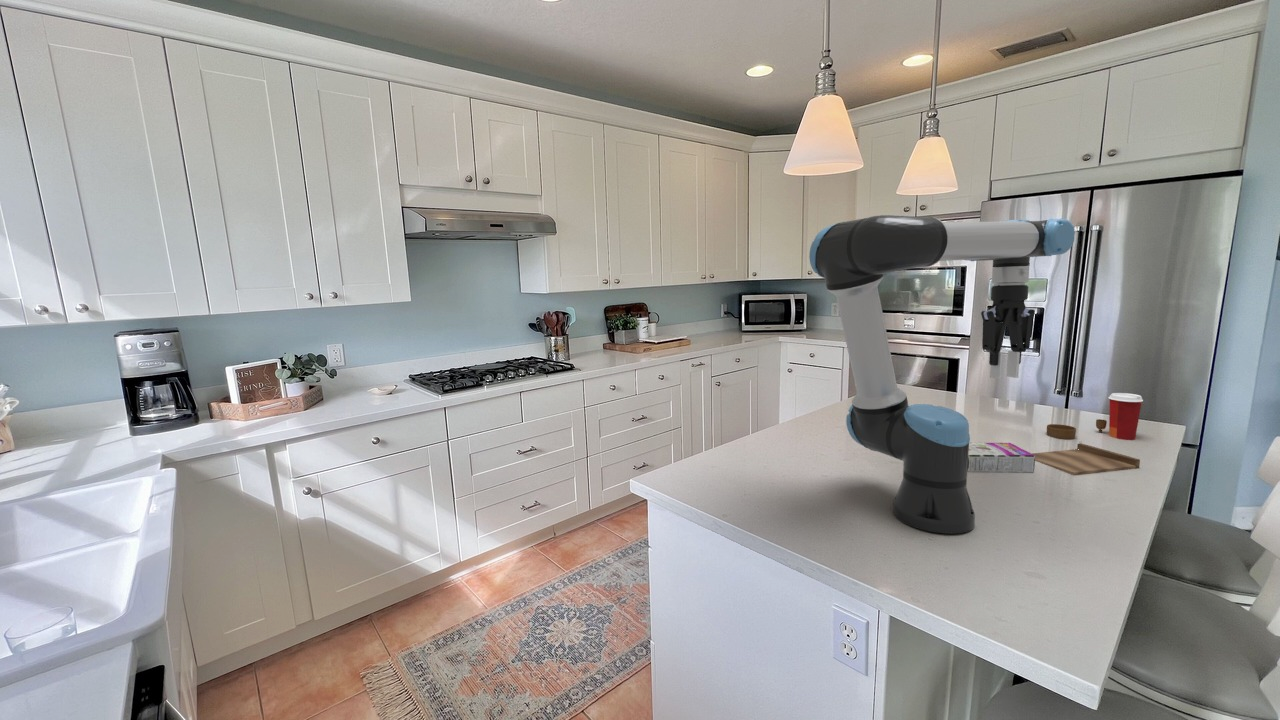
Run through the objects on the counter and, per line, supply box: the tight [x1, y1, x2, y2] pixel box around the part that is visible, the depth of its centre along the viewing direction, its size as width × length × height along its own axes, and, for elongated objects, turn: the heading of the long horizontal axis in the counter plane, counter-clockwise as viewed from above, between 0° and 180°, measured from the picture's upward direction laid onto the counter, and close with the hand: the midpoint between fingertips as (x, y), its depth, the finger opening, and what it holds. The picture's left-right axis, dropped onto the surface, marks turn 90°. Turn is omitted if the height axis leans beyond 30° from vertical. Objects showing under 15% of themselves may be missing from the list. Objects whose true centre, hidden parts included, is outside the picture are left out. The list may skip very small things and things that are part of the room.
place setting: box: [1046, 418, 1108, 440], centre depth 158 cm, size 18×20×6 cm
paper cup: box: [1107, 392, 1144, 441], centre depth 156 cm, size 8×8×14 cm
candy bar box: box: [967, 442, 1036, 474], centre depth 138 cm, size 11×5×16 cm
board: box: [1031, 442, 1141, 476], centre depth 139 cm, size 20×15×2 cm
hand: (1004, 377), depth 131 cm, fingers open, 4 cm apart
